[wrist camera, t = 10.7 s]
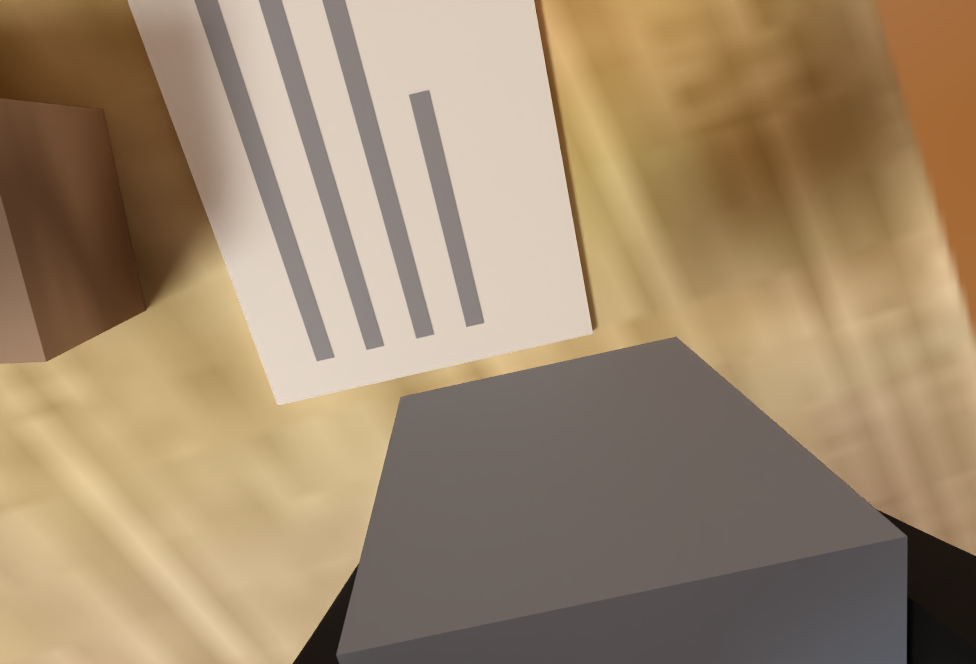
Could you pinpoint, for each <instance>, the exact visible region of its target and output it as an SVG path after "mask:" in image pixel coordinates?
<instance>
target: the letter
mask: <svg viewBox="0 0 976 664" xmlns="http://www.w3.org/2000/svg"><path fill="white" fill-rule="evenodd" d="M127 1H128V4H129V6H130V9H131V12H132V14H133V17H134V20H135V23H136V25H137V28H138V31H139V33H140V36H141V39H142V41H143V44H144V47H145V49H146V52H147V55H148V58H149V60H150V63H151V66H152V68H153V71H154V74H155V76H156V79H157V82H158V84H159V87H160V90H161V93H162V95H163V98H164V101H165V103H166V106H167V109H168V111H169V114H170V117H171V119H172V122H173V125H174V128H175V130H176V133H177V136H178V138H179V141H180V144H181V146H182V149H183V152H184V155H185V157H186V160H187V163H188V165H189V168H190V171H191V173H192V176H193V179H194V181H195V184H196V187H197V190H198V192H199V195H200V198H201V200H202V203H203V206H204V208H205V211H206V214H207V216H208V219H209V222H210V225H211V227H212V230H213V233H214V235H215V238H216V241H217V243H218V246H219V249H220V252H221V254H222V257H223V260H224V262H225V265H226V268H227V270H228V273H229V276H230V278H231V281H232V284H233V287H234V289H235V292H236V295H237V297H238V300H239V303H240V305H241V308H242V311H243V313H244V316H245V319H246V322H247V324H248V327H249V330H250V332H251V335H252V338H253V340H254V343H255V346H256V348H257V351H258V354H259V357H260V359H261V362H262V365H263V367H264V370H265V373H266V375H267V378H268V381H269V384H270V386H271V389H272V392H273V394H274V397H275V400H276V402H277V405H282V404H286V403H291V402H295V401H300V400H304V399H308V398H313V397H317V396H322V395H326V394H330V393H335V392H339V391H343V390H348V389H352V388H357V387H361V386H365V385H370V384H374V383H379V382H383V381H387V380H392V379H396V378H400V377H405V376H409V375H414V374H418V373H422V372H427V371H431V370H436V369H440V368H444V367H449V366H453V365H457V364H462V363H466V362H471V361H475V360H479V359H484V358H488V357H493V356H497V355H501V354H506V353H510V352H514V351H519V350H523V349H528V348H532V347H536V346H541V345H545V344H550V343H554V342H558V341H563V340H567V339H571V338H576V337H580V336H585V335H589V334H593V331H592V325H591V319H590V314H589V308H588V302H587V297H586V291H585V285H584V280H583V274H582V268H581V263H580V257H579V251H578V246H577V240H576V235H575V229H574V223H573V218H572V212H571V206H570V201H569V195H568V189H567V184H566V178H565V172H564V167H563V161H562V155H561V150H560V144H559V139H558V133H557V127H556V122H555V116H554V110H553V105H552V99H551V93H550V88H549V82H548V76H547V71H546V65H545V59H544V54H543V48H542V42H541V37H540V31H539V26H538V20H537V14H536V9H535V3H534V0H127Z"/></svg>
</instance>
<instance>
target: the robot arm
mask: <svg viewBox="0 0 976 664" xmlns="http://www.w3.org/2000/svg"><path fill="white" fill-rule="evenodd" d="M876 510H877V509H876ZM877 511H879V510H877ZM879 512H880V513H881V514H882V515H883V516H884V517H886V518H887V519H888V520H889V521H890V522H891V523H892V524H894V525H895V526H896V527H897V528H898V529H899V530H901V531H902V532H903V533H904V534H905V535H906V536H907V664H976V556H974V555H972V554H970V553H968V552H966V551H963V550H961V549H959V548H957V547H955V546H953V545H950V544H948V543H946V542H944V541H942V540H940V539H937V538H935V537H933V536H931V535H929V534H927V533H925V532H923V531H920V530H918V529H916V528H914V527H912V526H910V525H908V524H906V523H904V522H902V521H900V520H897V519H895V518H893V517H891V516H889V515H887V514H885V513H883V512H881V511H879ZM358 566H359V564H358V565H357V567H356V568H355V570H354V571H353V573H352V574H351V576H350V578H349V579H348V581H347V582H346V584H345V585H344V587H343V588H342V590H341V591H340V593H339V595H338V596H337V598H336V599H335V601H334V602H333V604H332V605H331V607H330V608H329V610H328V612H327V613H326V615H325V616H324V618H323V619H322V621H321V622H320V624H319V625H318V627H317V628H316V630H315V631H314V633H313V634H312V636H311V637H310V639H309V640H308V642H307V643H306V645H305V646H304V648H303V649H302V651H301V652H300V654H299V655H298V657H297V658H296V659H295V661H294V662H293V664H339V661H338V659H337V656H336V654H337V650H338V646H339V642H340V638H341V634H342V630H343V626H344V622H345V618H346V614H347V610H348V606H349V602H350V598H351V594H352V590H353V586H354V582H355V578H356V574H357V570H358Z"/></svg>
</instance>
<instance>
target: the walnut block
mask: <svg viewBox="0 0 976 664" xmlns="http://www.w3.org/2000/svg"><path fill="white" fill-rule="evenodd" d="M144 311H146V310H145V305H144V301H143V296H142V291H141V286H140V282H139V277H138V272H137V268H136V263H135V258H134V253H133V249H132V244H131V239H130V235H129V230H128V225H127V220H126V216H125V211H124V206H123V202H122V197H121V192H120V187H119V183H118V178H117V173H116V168H115V164H114V159H113V154H112V150H111V145H110V140H109V135H108V131H107V126H106V121H105V117H104V112H103V109H96V108H86V107H77V106H68V105H59V104H49V103H40V102H31V101H22V100H13V99H3V98H0V363H25V362H47V361H48V360H50V359H52V358H54V357H56V356H58V355H60V354H62V353H64V352H66V351H68V350H70V349H72V348H74V347H76V346H78V345H80V344H82V343H83V342H85V341H87V340H89V339H91V338H93V337H95V336H97V335H99V334H101V333H103V332H105V331H107V330H109V329H111V328H113V327H115V326H116V325H118V324H120V323H122V322H124V321H126V320H128V319H130V318H132V317H134V316H136V315H138V314H140V313H142V312H144Z"/></svg>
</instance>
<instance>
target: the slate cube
mask: <svg viewBox="0 0 976 664" xmlns="http://www.w3.org/2000/svg"><path fill="white" fill-rule="evenodd" d="M336 656H337V659H338V661H339V664H907V536H906V535H905V534H904V533H903V532H902V531H901V530H899V529H898V528H897V527H896V526H895V525H894V524H892V523H891V522H890V521H889V520H888V519H887V518H886V517H884V516H883V515H882V514H881V513H880V512H879V511H877V510H876V509H875V508H874V507H873V506H872V505H870V504H869V503H868V502H867V501H866V500H865V499H864V498H862V497H861V496H860V495H859V494H858V493H857V492H855V491H854V490H853V489H852V488H851V487H850V486H848V485H847V484H846V483H845V482H844V481H843V480H842V479H840V478H839V477H838V476H837V475H836V474H835V473H833V472H832V471H831V470H830V469H829V468H828V467H826V466H825V465H824V464H823V463H822V462H821V461H819V460H818V459H817V458H816V457H815V456H814V455H813V454H811V453H810V452H809V451H808V450H807V449H806V448H804V447H803V446H802V445H801V444H800V443H799V442H797V441H796V440H795V439H794V438H793V437H792V436H791V435H789V434H788V433H787V432H786V431H785V430H784V429H782V428H781V427H780V426H779V425H778V424H777V423H775V422H774V421H773V420H772V419H771V418H770V417H769V416H767V415H766V414H765V413H764V412H763V411H762V410H760V409H759V408H758V407H757V406H756V405H755V404H753V403H752V402H751V401H750V400H749V399H748V398H747V397H745V396H744V395H743V394H742V393H741V392H740V391H738V390H737V389H736V388H735V387H734V386H733V385H731V384H730V383H729V382H728V381H727V380H726V379H725V378H723V377H722V376H721V375H720V374H719V373H718V372H716V371H715V370H714V369H713V368H712V367H711V366H709V365H708V364H707V363H706V362H705V361H704V360H702V359H701V358H700V357H699V356H698V355H697V354H696V353H694V352H693V351H692V350H691V349H690V348H689V347H687V346H686V345H685V344H684V343H683V342H682V341H680V340H679V339H678V338H677V337H673V338H669V339H664V340H660V341H655V342H650V343H646V344H641V345H637V346H632V347H628V348H623V349H618V350H614V351H609V352H605V353H600V354H595V355H591V356H586V357H582V358H577V359H573V360H568V361H563V362H559V363H554V364H550V365H545V366H540V367H536V368H531V369H527V370H522V371H518V372H513V373H508V374H504V375H499V376H495V377H490V378H485V379H481V380H476V381H472V382H467V383H463V384H458V385H453V386H449V387H444V388H440V389H435V390H430V391H426V392H421V393H417V394H412V395H408V396H403V397H401V398H400V402H399V406H398V410H397V414H396V418H395V422H394V426H393V430H392V434H391V438H390V442H389V446H388V450H387V454H386V458H385V462H384V466H383V470H382V474H381V478H380V482H379V486H378V490H377V494H376V498H375V502H374V506H373V510H372V514H371V518H370V522H369V526H368V530H367V534H366V538H365V542H364V546H363V550H362V554H361V558H360V562H359V566H358V570H357V574H356V578H355V582H354V586H353V590H352V594H351V598H350V602H349V606H348V610H347V614H346V618H345V622H344V626H343V630H342V634H341V638H340V642H339V646H338V650H337V654H336Z"/></svg>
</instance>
